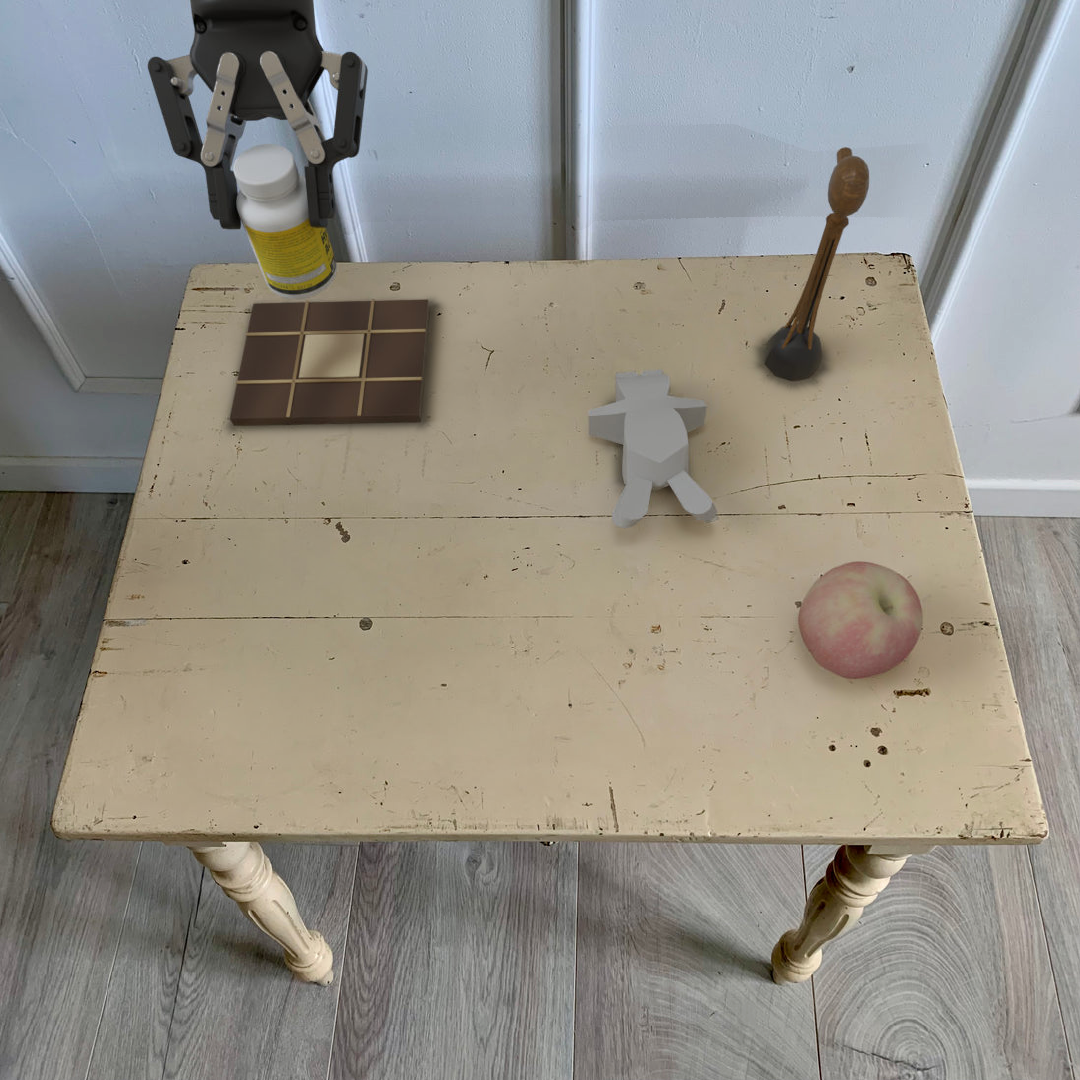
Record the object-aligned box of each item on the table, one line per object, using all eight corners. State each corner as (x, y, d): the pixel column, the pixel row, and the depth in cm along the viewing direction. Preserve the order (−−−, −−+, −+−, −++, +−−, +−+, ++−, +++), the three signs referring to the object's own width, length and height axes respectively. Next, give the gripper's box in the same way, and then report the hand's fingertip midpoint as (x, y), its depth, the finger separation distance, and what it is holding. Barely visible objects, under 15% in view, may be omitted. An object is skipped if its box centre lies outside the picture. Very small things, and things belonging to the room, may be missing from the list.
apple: (871, 715, 61) (909, 675, 54) (770, 660, 64) (795, 615, 57) (913, 626, 65) (955, 577, 58) (816, 576, 67) (845, 523, 60)
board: (233, 425, 75) (228, 417, 74) (256, 310, 81) (252, 301, 80) (420, 422, 75) (418, 413, 74) (429, 306, 81) (427, 297, 80)
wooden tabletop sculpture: (763, 327, 79) (819, 126, 61) (816, 330, 78) (888, 129, 61) (764, 379, 76) (823, 184, 58) (819, 382, 76) (895, 188, 58)
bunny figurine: (697, 351, 72) (734, 494, 64) (691, 396, 77) (725, 536, 68) (582, 361, 72) (603, 505, 64) (582, 405, 76) (602, 546, 68)
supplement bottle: (350, 284, 66) (316, 173, 57) (282, 312, 64) (237, 203, 56) (322, 239, 68) (285, 126, 59) (256, 266, 67) (209, 154, 58)
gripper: (103, -80, 52) (145, 227, 57) (347, -88, 51) (369, 222, 56) (159, -36, 59) (192, 233, 64) (373, -43, 58) (391, 228, 63)
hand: (275, 226), depth 60 cm, fingers closed on supplement bottle, 5 cm apart
